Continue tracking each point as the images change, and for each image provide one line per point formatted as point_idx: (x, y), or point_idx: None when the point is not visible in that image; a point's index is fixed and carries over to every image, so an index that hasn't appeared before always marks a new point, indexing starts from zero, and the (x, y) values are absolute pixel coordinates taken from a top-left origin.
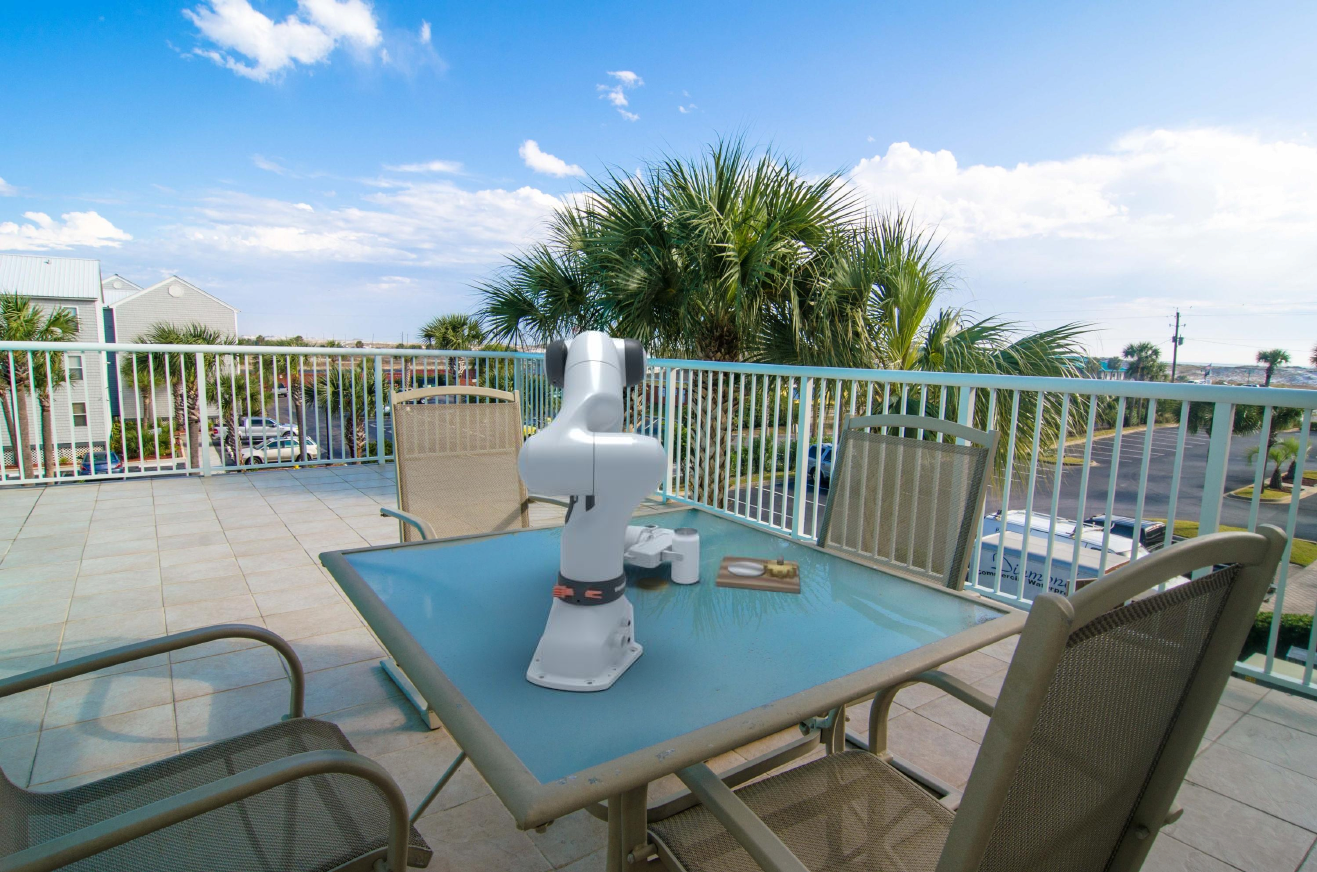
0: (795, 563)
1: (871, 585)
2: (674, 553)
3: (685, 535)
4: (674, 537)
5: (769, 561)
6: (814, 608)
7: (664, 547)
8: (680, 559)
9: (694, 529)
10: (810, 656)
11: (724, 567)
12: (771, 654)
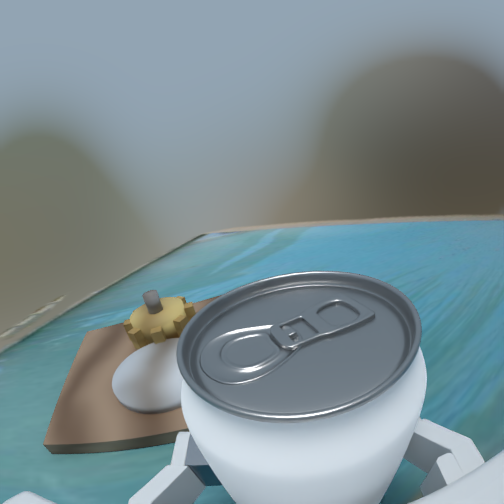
0: (96, 331)
1: (163, 277)
2: (428, 423)
3: (380, 291)
4: (421, 382)
5: (140, 325)
6: (289, 273)
7: (458, 481)
8: None
9: (204, 313)
10: (417, 234)
11: (146, 425)
12: (449, 242)
